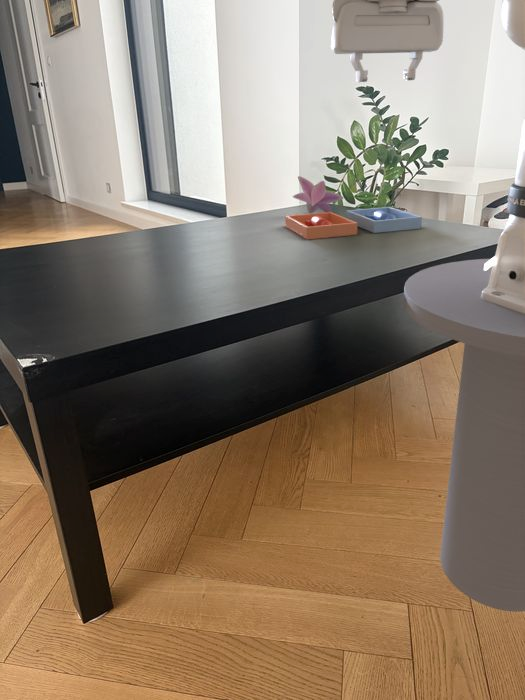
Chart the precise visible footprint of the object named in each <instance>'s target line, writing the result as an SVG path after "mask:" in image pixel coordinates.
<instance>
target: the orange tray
mask: <svg viewBox="0 0 525 700" xmlns="http://www.w3.org/2000/svg"><path fill="white" fill-rule="evenodd" d="M315 216H319V217H321V218H323V219H325V220H328V221H330V222H331V224H332V225H322V226H312V227H308V226H306V225H305V220H306V219H312V218H313V217H315ZM284 218H285V219H284V221H285V224H284V225H285V228H287V229H289V230H290V231H292V232H294V233H295V234H297V235H299V236H300V237H302V238H304V239H305V240H308V241H309V240H316V239H317V240H318V239H326V238H336V237H346V236H357V235H358V226H357V222H354V221H352V220H349V219H347V218H346V217H345V216H342V215H339V214H337V213H335V212H333V211H332V212H325V211H323V212H313V213H311V214H309V213H303V214H291V215H284Z"/></svg>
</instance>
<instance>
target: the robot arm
mask: <svg viewBox="0 0 525 700" xmlns="http://www.w3.org/2000/svg"><path fill="white" fill-rule="evenodd" d="M439 1H440V0H333V1H332V18H333V24H332V31H331V45H330V47H331V50H332V51H333V53H334V54H335V55H350V63H351V65H352V67H353V69H354V71H355V82H356V83H366V82H367V81H368V78H369V77H368V75H369V70H364V67H363V65H362V63H361V60H363V55H365V54H403V53H405V54H407V53H409V60H411V62H410V63H409V66H408V68H407V69H404V70H403V81H414V80H416V73H417V69H418V67H419V66H420V63H421V62H422V60H423V54H424V53H432V52H437V51H438V50H439V49H440V47H441V46H442V44H443V41H444V10H443V7H442V5H441V4H440V2H439ZM501 21H502V25H503V29H504V31H505V34H507V37H508V38H509V40H511V42H512V43H513V44H515V45H516V46H517V47H519V48H521V49H522V50H524V51H525V0H502V4H501ZM517 154H518V155H517V163H516V168H515V169H516V170H515V175H514V176H515V178H514V182H513V183H512V184H511V185H510V188H509V194H507V207H506V212H507V213H508V214H509V215H508V220H507V223H506V225H505V227H504V229H503V231H502V233H501V234H500V236H499V238H498V241H497V247H496V250H495V254H494V256H493V257H492V258H489V259H490V260H489V261H488V262H487V263H485V264H484V270H487V269H489V268H490V267H491V266H492V265H493V267H492V271H491V275H490V280H489V283H488V286H487V287H486V288H485V289H483V291H482V294H481V299H483V300H485V301H488V302H491V303H494V304H497V305H500V306H503V307H506V308H509V309H511V310H514V311H517V312H520V313H523V314H525V118H524V119H523V122H522V125H521V133H520V140H519V147H518V153H517Z"/></svg>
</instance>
